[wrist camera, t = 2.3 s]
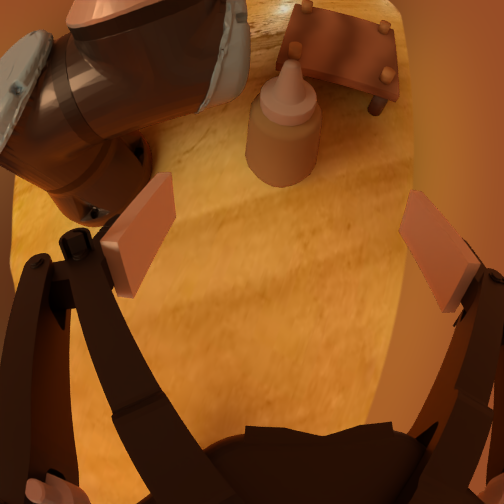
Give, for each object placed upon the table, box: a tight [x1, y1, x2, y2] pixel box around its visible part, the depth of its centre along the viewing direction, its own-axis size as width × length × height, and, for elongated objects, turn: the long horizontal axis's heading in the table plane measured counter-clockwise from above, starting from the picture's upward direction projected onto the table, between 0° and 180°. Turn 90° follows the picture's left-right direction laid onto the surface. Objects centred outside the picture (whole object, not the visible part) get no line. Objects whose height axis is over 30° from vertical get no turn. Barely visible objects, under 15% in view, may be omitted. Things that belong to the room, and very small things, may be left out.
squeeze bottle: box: [245, 59, 322, 188], centre depth 27 cm, size 8×8×18 cm
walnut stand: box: [276, 0, 399, 116], centre depth 34 cm, size 16×16×8 cm
